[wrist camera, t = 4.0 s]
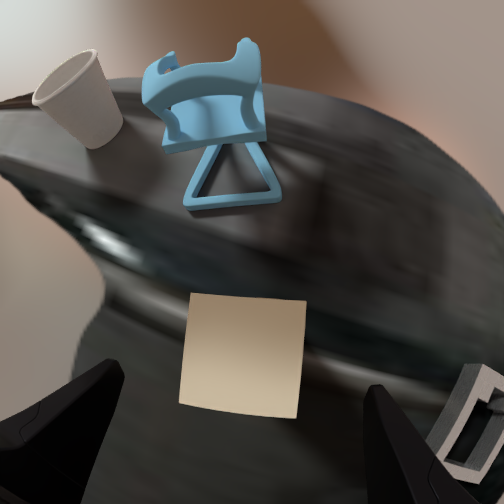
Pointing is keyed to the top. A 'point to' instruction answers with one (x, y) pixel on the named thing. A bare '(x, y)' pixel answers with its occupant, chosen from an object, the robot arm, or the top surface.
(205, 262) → the top surface
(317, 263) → the top surface
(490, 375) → the socket plate
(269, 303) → the keyed post
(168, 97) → the chair
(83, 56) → the dixie cup
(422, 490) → the robot arm
